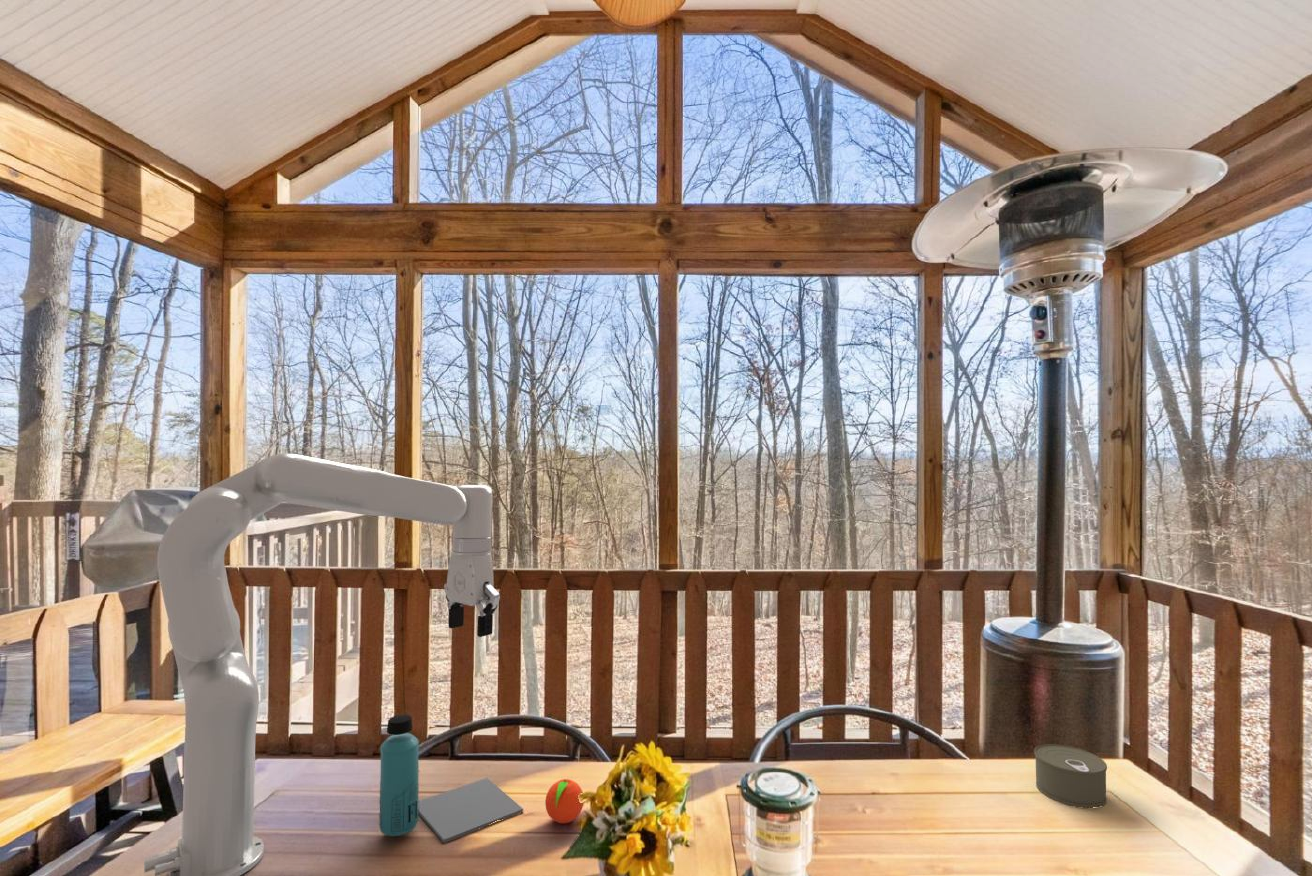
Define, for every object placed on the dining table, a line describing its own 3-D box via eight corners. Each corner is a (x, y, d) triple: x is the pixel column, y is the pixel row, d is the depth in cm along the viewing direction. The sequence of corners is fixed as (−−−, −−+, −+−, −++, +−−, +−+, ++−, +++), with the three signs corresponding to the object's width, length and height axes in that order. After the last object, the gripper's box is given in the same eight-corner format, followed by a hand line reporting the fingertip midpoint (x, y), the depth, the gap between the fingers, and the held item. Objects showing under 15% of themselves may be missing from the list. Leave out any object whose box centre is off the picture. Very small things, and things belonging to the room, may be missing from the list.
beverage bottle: (410, 846, 108) (411, 725, 109) (370, 845, 108) (373, 725, 109) (424, 824, 114) (426, 710, 115) (387, 823, 115) (389, 710, 115)
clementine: (574, 837, 111) (575, 795, 111) (536, 832, 112) (537, 791, 112) (588, 812, 119) (589, 773, 119) (553, 808, 120) (553, 769, 120)
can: (1085, 779, 132) (1085, 745, 132) (1121, 811, 120) (1120, 773, 120) (1024, 776, 133) (1023, 742, 133) (1053, 807, 121) (1052, 770, 121)
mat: (443, 843, 109) (443, 839, 109) (412, 806, 120) (412, 803, 120) (523, 812, 118) (523, 808, 118) (487, 780, 130) (487, 777, 130)
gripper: (431, 543, 133) (429, 627, 132) (482, 551, 122) (480, 642, 121) (462, 540, 139) (460, 620, 138) (514, 548, 128) (512, 634, 127)
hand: (470, 631), depth 130 cm, fingers open, 9 cm apart
